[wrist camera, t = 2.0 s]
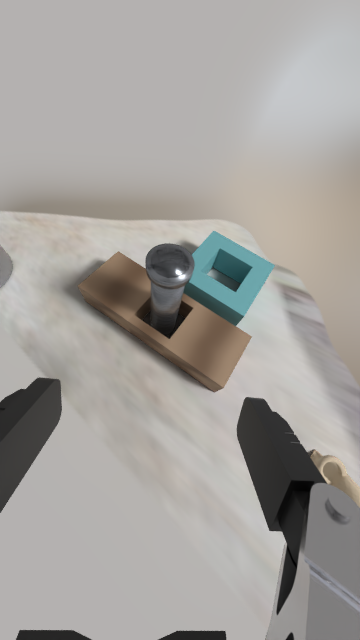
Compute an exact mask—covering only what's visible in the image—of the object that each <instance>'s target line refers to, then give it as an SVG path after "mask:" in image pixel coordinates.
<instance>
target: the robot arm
mask: <svg viewBox="0 0 360 640" xmlns="http://www.w3.org/2000/svg"><path fill="white" fill-rule="evenodd" d="M12 268H13V266H12V260H11V258H10V256H9V255H8V254H7V253H6V251H5V250H4V249H3V248H2V247H1V245H0V287H2V286H3V285H4V284H5V282H6V281H7V280H8V279H9V277H10V275H11V272H12ZM61 411H62V406H61V384H60V380H59V379H50V378H37V379H36V380H35V381H34V382H33V383H32V384H30V386H28V387H27V388H26V389H20V390H18V391H16V392H14V393H13V394H11V395H9V396H7V397H5V398H4V399H3V400H2V401H1V402H0V513H1V511H2V510H3V508H4V506H5V505H6V503H7V502H8V500H9V498H10V497H11V495H12V494H13V493H14V491H15V489H16V488H17V486H18V485H19V483H20V482H21V480H22V478H23V477H24V475H25V474H26V472H27V471H28V469H29V468H30V466H31V464H32V463H33V461H34V460H35V458H36V457H37V455H38V454H39V452H40V451H41V449H42V447H43V446H44V444H45V443H46V441H47V440H48V438H49V437H50V435H51V434H52V432H53V430H54V429H55V427H56V426H57V424H58V422H59V419H60V416H61ZM237 437H238V441H239V444H240V447H241V449H242V452H243V455H244V458H245V461H246V464H247V467H248V470H249V473H250V476H251V479H252V481H253V484H254V487H255V490H256V493H257V496H258V499H259V502H260V505H261V508H262V510H263V513H264V516H265V519H266V522H267V525H268V528H269V531H282V532H283V535H284V537H285V540H286V543H285V545H284V548H283V554H282V560H281V565H280V571H279V577H278V582H277V588H276V594H275V599H274V605H273V611H272V616H271V621H270V625H269V629H268V632H267V635H266V638H265V640H360V507H359V506H358V505H357V504H356V503H355V502H354V501H353V500H352V499H351V498H350V497H349V496H348V495H347V494H345V493H344V492H343V491H341V490H340V489H338V488H336V487H334V486H332V485H329V484H327V482H326V481H325V479H324V478H323V476H322V475H321V473H320V472H319V470H318V468H317V467H316V465H315V464H314V462H313V461H312V459H311V458H310V456H309V455H308V453H307V452H306V450H305V449H304V447H303V446H302V444H300V441H299V440H298V438H297V437H296V435H294V432H293V430H292V429H291V427H290V426H289V424H288V423H287V421H285V420H284V419H283V418H282V417H281V416H280V415H279V414H278V413H277V412H272V410H271V409H270V407H269V405H268V404H267V402H266V401H265V400H264V399H261V398H250V397H246V398H245V400H244V402H243V406H242V410H241V413H240V417H239V420H238V424H237ZM16 640H91V639H89V638H87V637H85V636H83V635H81V634H79V633H77V632H75V631H72V630H20V631H19V633H18V636H17V638H16ZM159 640H226V633H225V631H176V632H174V633H172V634H170V635H167V636H165V637H163V638H161V639H159Z"/></svg>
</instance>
